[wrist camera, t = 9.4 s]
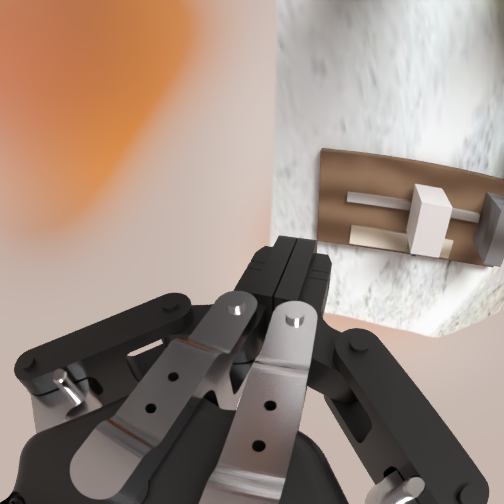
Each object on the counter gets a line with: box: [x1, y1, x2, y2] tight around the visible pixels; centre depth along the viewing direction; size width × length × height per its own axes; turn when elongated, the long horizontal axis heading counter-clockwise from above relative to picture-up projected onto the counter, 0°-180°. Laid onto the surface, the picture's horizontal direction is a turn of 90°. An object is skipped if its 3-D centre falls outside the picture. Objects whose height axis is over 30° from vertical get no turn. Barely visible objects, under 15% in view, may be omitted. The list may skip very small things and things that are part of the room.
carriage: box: [406, 184, 452, 258], centre depth 36 cm, size 11×4×6 cm, turn 3°
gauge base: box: [317, 148, 504, 267], centre depth 37 cm, size 14×30×8 cm, turn 93°
